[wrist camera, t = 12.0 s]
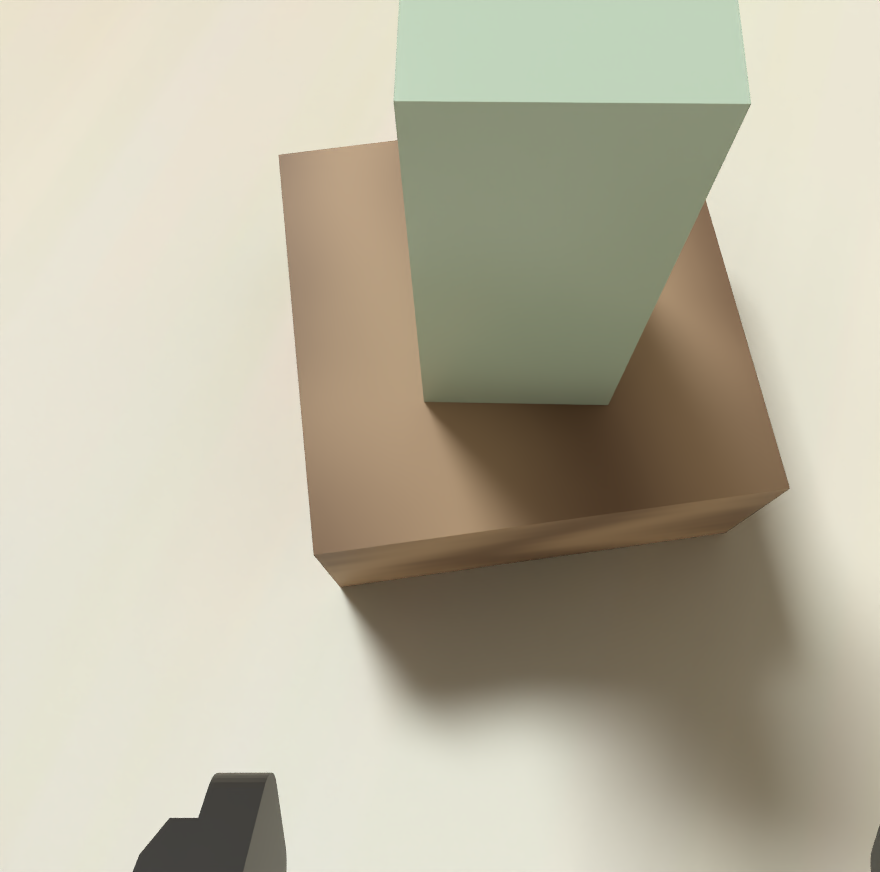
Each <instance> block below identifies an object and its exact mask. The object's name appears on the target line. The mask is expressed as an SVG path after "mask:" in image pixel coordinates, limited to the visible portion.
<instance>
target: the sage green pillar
mask: <svg viewBox="0 0 880 872" xmlns="http://www.w3.org/2000/svg"><path fill="white" fill-rule="evenodd" d="M750 105H751V100H750V92H749V84H748V76H747V68H746V60H745V52H744V44H743V36H742V28H741V20H740V12H739V4H738V0H399V16H398V34H397V52H396V69H395V87H394V109H395V119H396V129H397V139H398V149H399V159H400V169H401V179H402V189H403V199H404V209H405V218H406V228H407V238H408V248H409V258H410V268H411V278H412V288H413V298H414V308H415V318H416V328H417V338H418V348H419V358H420V368H421V378H422V388H423V397H424V402H460V403H517V404H574V405H608V404H609V402H610V400H611V398H612V396H613V394H614V392H615V389H616V387H617V385H618V383H619V381H620V379H621V377H622V375H623V373H624V371H625V368H626V366H627V364H628V362H629V360H630V358H631V356H632V354H633V352H634V349H635V347H636V345H637V343H638V341H639V339H640V337H641V335H642V333H643V330H644V328H645V326H646V324H647V322H648V320H649V318H650V316H651V314H652V311H653V309H654V307H655V305H656V303H657V301H658V299H659V297H660V295H661V293H662V290H663V288H664V286H665V284H666V282H667V280H668V278H669V276H670V274H671V271H672V269H673V267H674V265H675V263H676V261H677V259H678V257H679V255H680V252H681V250H682V248H683V246H684V244H685V242H686V240H687V238H688V236H689V234H690V231H691V229H692V227H693V225H694V223H695V221H696V219H697V217H698V215H699V212H700V210H701V208H702V206H703V204H704V202H705V200H706V198H707V196H708V193H709V191H710V189H711V187H712V185H713V183H714V181H715V179H716V177H717V174H718V172H719V170H720V168H721V166H722V164H723V162H724V160H725V158H726V156H727V153H728V151H729V149H730V147H731V145H732V143H733V141H734V139H735V137H736V134H737V132H738V130H739V128H740V126H741V124H742V122H743V120H744V118H745V115H746V113H747V111H748V109H749V107H750Z"/></svg>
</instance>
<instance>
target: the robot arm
mask: <svg viewBox="0 0 880 872" xmlns="http://www.w3.org/2000/svg"><path fill="white" fill-rule="evenodd" d="M133 872H286V847H285V840H284V833H283V826H282V819H281V812H280V805H279V798H278V791H277V784H276V779H275V776H274V774H273V773H216V774H215V775H214V776H213V778H212V780H211V782H210V784H209V787H208V790H207V793H206V796H205V799H204V802H203V805H202V808H201V811H200V814H199V817H198V818H169V820H168V821H167V822H166V823H165V824H164V826H163V827H162V828H161V829H160V830H159V832H158V833H157V834H156V835H155V836H154V838H153V839H152V840H151V841H150V843H149V844H148V845H147V846H146V847H145V849H144V850H143V851H142V852H141V853H140V855H139V857H138V860H137V862H136V865H135V867H134V870H133ZM871 872H880V826H879V829H878V832H877V836H876V839H875V842H874V845H873V848H872V853H871Z"/></svg>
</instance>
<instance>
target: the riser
mask: <svg viewBox="0 0 880 872" xmlns="http://www.w3.org/2000/svg"><path fill="white" fill-rule="evenodd" d="M279 165H280V176H281V188H282V199H283V211H284V222H285V233H286V245H287V256H288V267H289V279H290V290H291V302H292V313H293V324H294V336H295V347H296V358H297V370H298V381H299V393H300V404H301V415H302V427H303V438H304V450H305V461H306V472H307V484H308V495H309V506H310V518H311V529H312V541H313V552H314V556H315V557H316V558H317V560H318V561H319V562H320V563H321V564H322V566H323V567H324V568H325V569H326V570H327V572H328V573H329V574H330V575H331V576H332V578H333V579H334V580H335V581H336V582H337V584H338V585H339V586H340V587H345V586H352V585H359V584H366V583H373V582H380V581H388V580H395V579H402V578H409V577H416V576H423V575H430V574H437V573H444V572H451V571H458V570H465V569H473V568H480V567H487V566H494V565H501V564H508V563H515V562H522V561H529V560H536V559H543V558H550V557H558V556H565V555H572V554H579V553H586V552H593V551H600V550H607V549H614V548H621V547H628V546H635V545H643V544H650V543H657V542H664V541H671V540H678V539H685V538H692V537H699V536H706V535H713V534H720V533H726V532H727V531H729V530H730V529H732V528H733V527H735V526H736V525H738V524H739V523H740V522H742V521H743V520H745V519H746V518H748V517H749V516H751V515H752V514H754V513H755V512H756V511H758V510H759V509H761V508H762V507H764V506H765V505H767V504H768V503H770V502H771V501H772V500H774V499H775V498H777V497H778V496H780V495H781V494H783V493H784V492H786V491H787V490H788V489H790V488H789V484H788V481H787V477H786V474H785V471H784V467H783V464H782V460H781V457H780V453H779V450H778V447H777V443H776V440H775V436H774V433H773V429H772V426H771V423H770V419H769V416H768V412H767V409H766V406H765V402H764V399H763V395H762V392H761V388H760V385H759V382H758V378H757V375H756V371H755V368H754V364H753V361H752V358H751V354H750V351H749V347H748V344H747V340H746V337H745V334H744V330H743V327H742V323H741V320H740V316H739V313H738V310H737V306H736V303H735V299H734V296H733V292H732V289H731V286H730V282H729V279H728V275H727V272H726V268H725V265H724V262H723V258H722V255H721V251H720V248H719V245H718V241H717V238H716V234H715V231H714V227H713V224H712V221H711V217H710V214H709V210H708V207H707V203H706V200H705V202H704V204H703V206H702V208H701V210H700V212H699V215H698V217H697V219H696V221H695V223H694V225H693V227H692V229H691V231H690V234H689V236H688V238H687V240H686V242H685V244H684V246H683V248H682V250H681V252H680V255H679V257H678V259H677V261H676V263H675V265H674V267H673V269H672V271H671V274H670V276H669V278H668V280H667V282H666V284H665V286H664V288H663V290H662V293H661V295H660V297H659V299H658V301H657V303H656V305H655V307H654V309H653V311H652V314H651V316H650V318H649V320H648V322H647V324H646V326H645V328H644V330H643V333H642V335H641V337H640V339H639V341H638V343H637V345H636V347H635V349H634V352H633V354H632V356H631V358H630V360H629V362H628V364H627V366H626V368H625V371H624V373H623V375H622V377H621V379H620V381H619V383H618V385H617V387H616V389H615V392H614V394H613V396H612V398H611V400H610V402H609V404H608V405H574V404H517V403H460V402H424V397H423V388H422V378H421V368H420V358H419V348H418V338H417V328H416V318H415V308H414V298H413V288H412V278H411V268H410V258H409V248H408V238H407V228H406V218H405V209H404V199H403V189H402V179H401V169H400V159H399V149H398V140H396V141H388V142H380V143H372V144H363V145H355V146H347V147H339V148H331V149H323V150H315V151H306V152H298V153H290V154H282V155H279Z"/></svg>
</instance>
